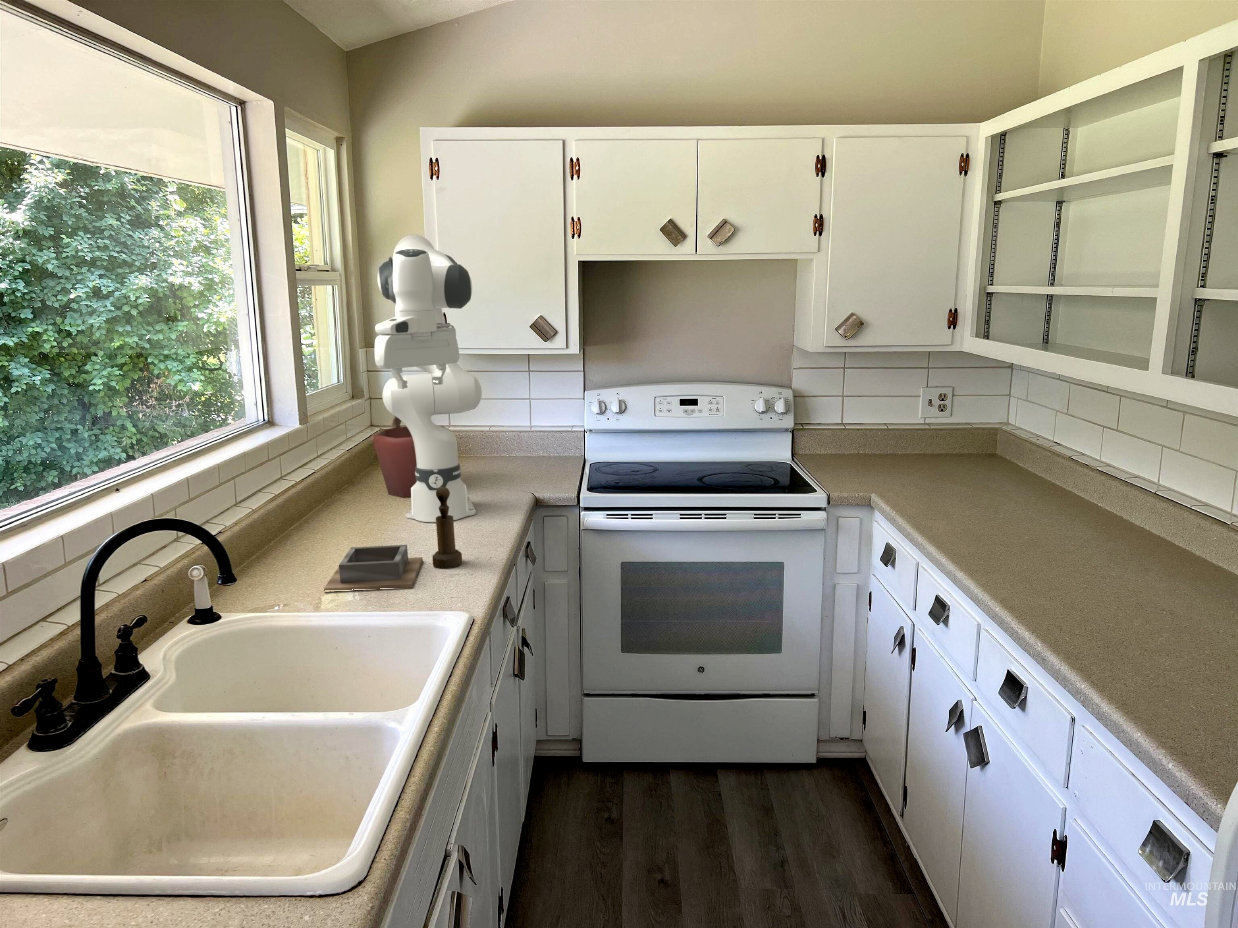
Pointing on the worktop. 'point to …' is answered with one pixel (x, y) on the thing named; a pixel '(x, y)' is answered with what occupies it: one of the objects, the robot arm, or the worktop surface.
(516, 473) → the worktop surface
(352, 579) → the holder board
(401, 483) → the bucket
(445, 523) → the wooden pepper mill
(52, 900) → the worktop surface
